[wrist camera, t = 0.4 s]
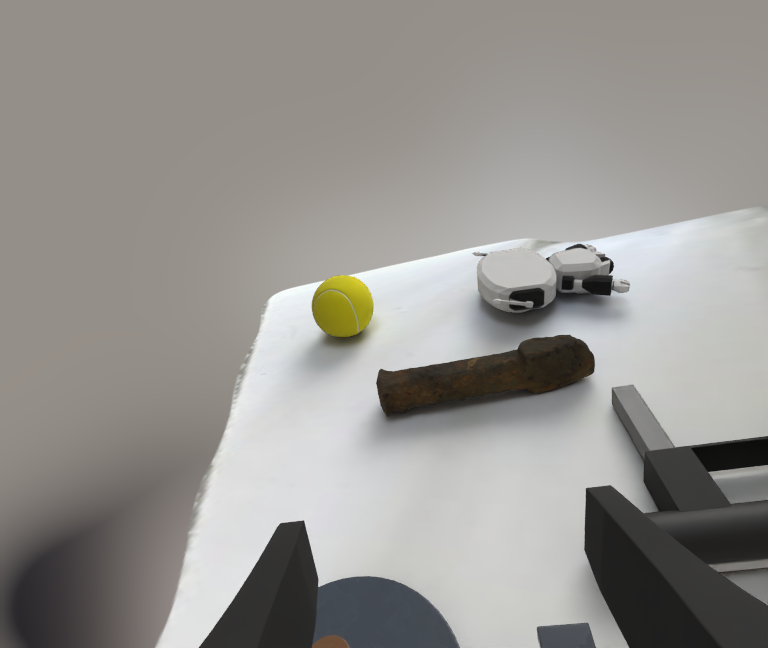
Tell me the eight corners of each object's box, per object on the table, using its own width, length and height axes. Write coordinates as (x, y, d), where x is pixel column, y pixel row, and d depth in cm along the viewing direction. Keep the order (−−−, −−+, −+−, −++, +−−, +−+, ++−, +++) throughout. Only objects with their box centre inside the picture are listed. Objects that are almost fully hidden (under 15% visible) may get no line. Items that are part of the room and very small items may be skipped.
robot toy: (590, 264, 62) (469, 280, 63) (593, 230, 60) (468, 247, 61) (634, 314, 52) (489, 333, 53) (640, 275, 50) (487, 295, 51)
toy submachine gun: (536, 390, 41) (605, 570, 27) (805, 352, 38) (1036, 529, 24) (539, 422, 42) (605, 607, 28) (797, 387, 40) (1011, 573, 26)
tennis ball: (369, 348, 56) (354, 294, 52) (313, 349, 58) (294, 297, 55) (385, 314, 61) (372, 263, 58) (333, 316, 64) (318, 267, 60)
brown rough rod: (382, 425, 45) (371, 385, 43) (384, 395, 48) (374, 357, 46) (603, 397, 42) (604, 353, 40) (588, 368, 46) (589, 326, 43)
